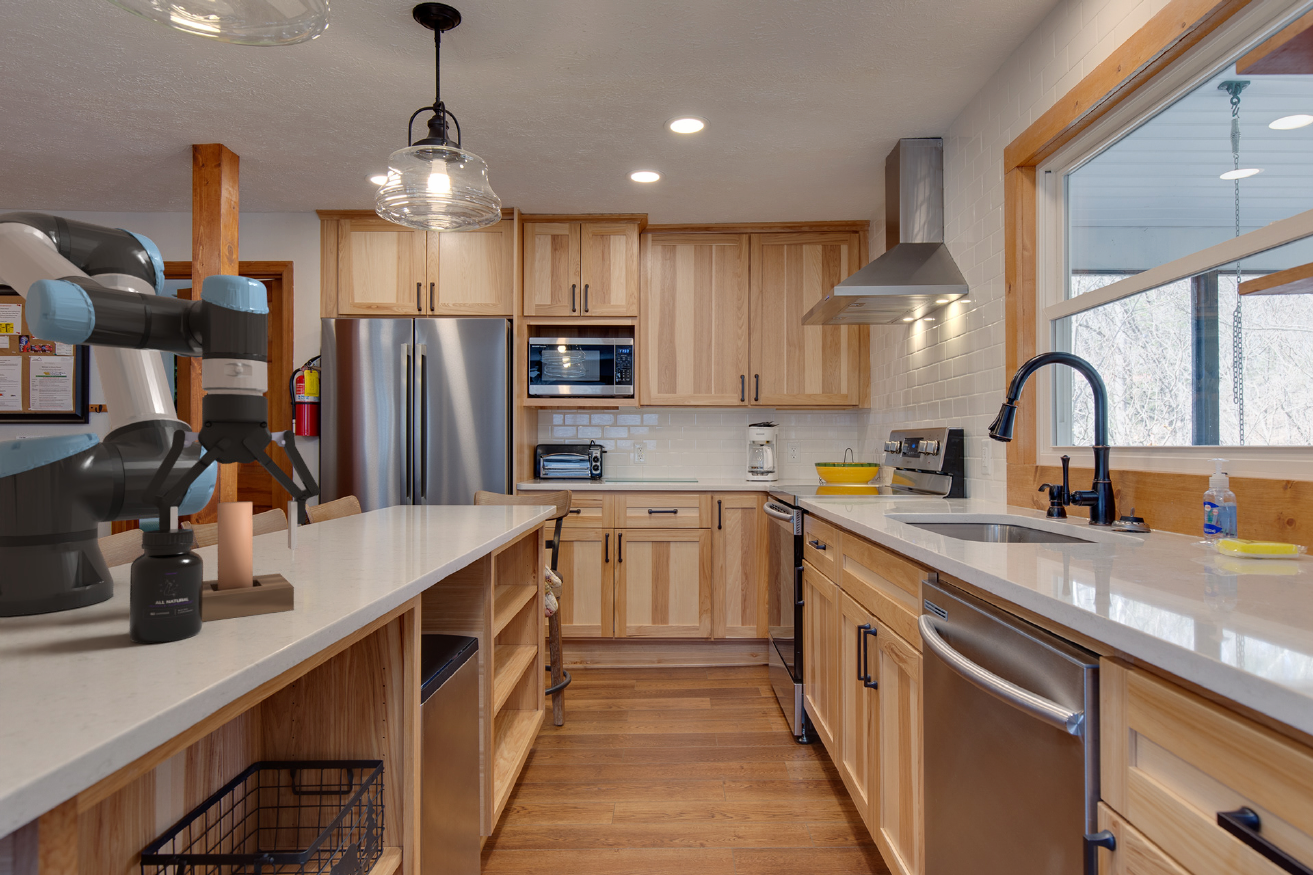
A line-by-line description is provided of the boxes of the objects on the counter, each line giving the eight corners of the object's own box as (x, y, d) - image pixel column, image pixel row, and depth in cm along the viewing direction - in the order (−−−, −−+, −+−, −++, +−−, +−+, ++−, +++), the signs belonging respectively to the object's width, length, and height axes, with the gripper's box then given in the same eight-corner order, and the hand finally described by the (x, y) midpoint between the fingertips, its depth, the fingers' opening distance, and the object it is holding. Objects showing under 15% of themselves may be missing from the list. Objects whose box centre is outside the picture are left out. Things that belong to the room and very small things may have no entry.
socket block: (179, 605, 95) (179, 583, 95) (279, 593, 102) (279, 573, 102) (183, 624, 85) (183, 599, 85) (293, 609, 92) (293, 586, 92)
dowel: (219, 612, 90) (218, 504, 91) (216, 607, 94) (216, 502, 94) (254, 608, 93) (254, 502, 93) (250, 602, 96) (250, 500, 96)
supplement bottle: (165, 646, 76) (165, 535, 76) (113, 643, 77) (113, 534, 77) (217, 629, 82) (217, 527, 82) (168, 626, 84) (168, 526, 84)
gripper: (116, 388, 83) (116, 567, 83) (342, 395, 98) (342, 547, 98) (118, 392, 89) (118, 558, 89) (330, 398, 104) (330, 541, 104)
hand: (235, 553), depth 93 cm, fingers open, 13 cm apart
